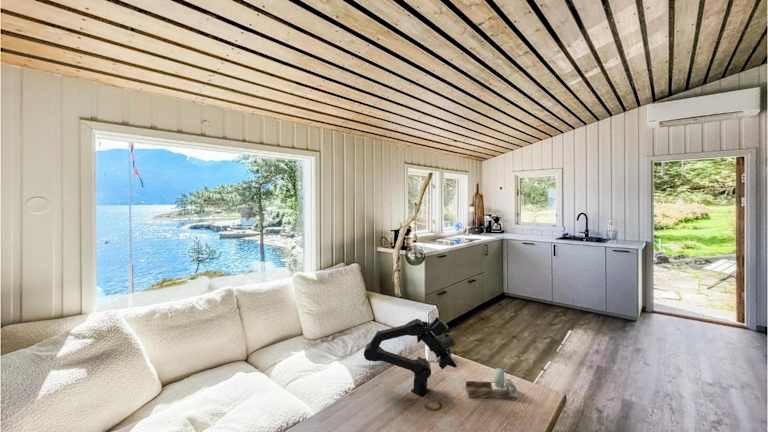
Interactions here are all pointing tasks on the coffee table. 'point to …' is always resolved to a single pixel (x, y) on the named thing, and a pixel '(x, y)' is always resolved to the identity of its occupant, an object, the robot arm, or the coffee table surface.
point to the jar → (431, 353)
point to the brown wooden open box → (490, 390)
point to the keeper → (499, 380)
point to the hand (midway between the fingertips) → (456, 366)
